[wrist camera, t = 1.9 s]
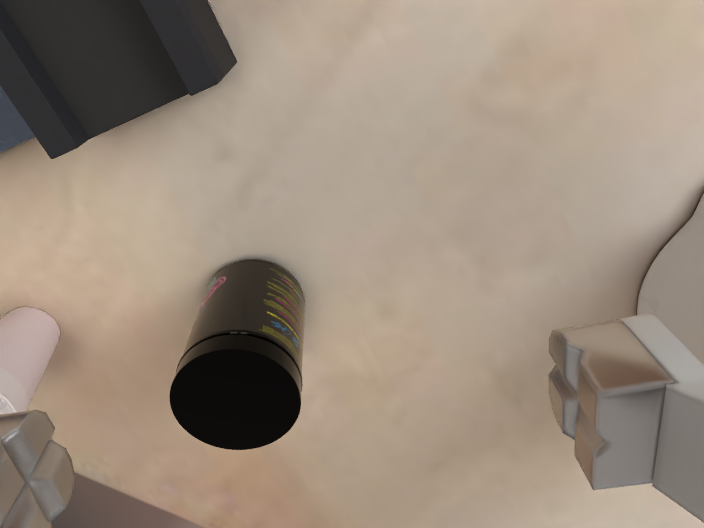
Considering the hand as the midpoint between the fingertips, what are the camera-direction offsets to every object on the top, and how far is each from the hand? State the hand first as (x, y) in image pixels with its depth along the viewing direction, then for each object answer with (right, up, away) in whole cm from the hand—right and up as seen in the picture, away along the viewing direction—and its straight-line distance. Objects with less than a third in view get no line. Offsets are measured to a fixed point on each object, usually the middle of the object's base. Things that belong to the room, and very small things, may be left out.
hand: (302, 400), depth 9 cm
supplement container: (-6, 0, +30) cm, 30 cm away
